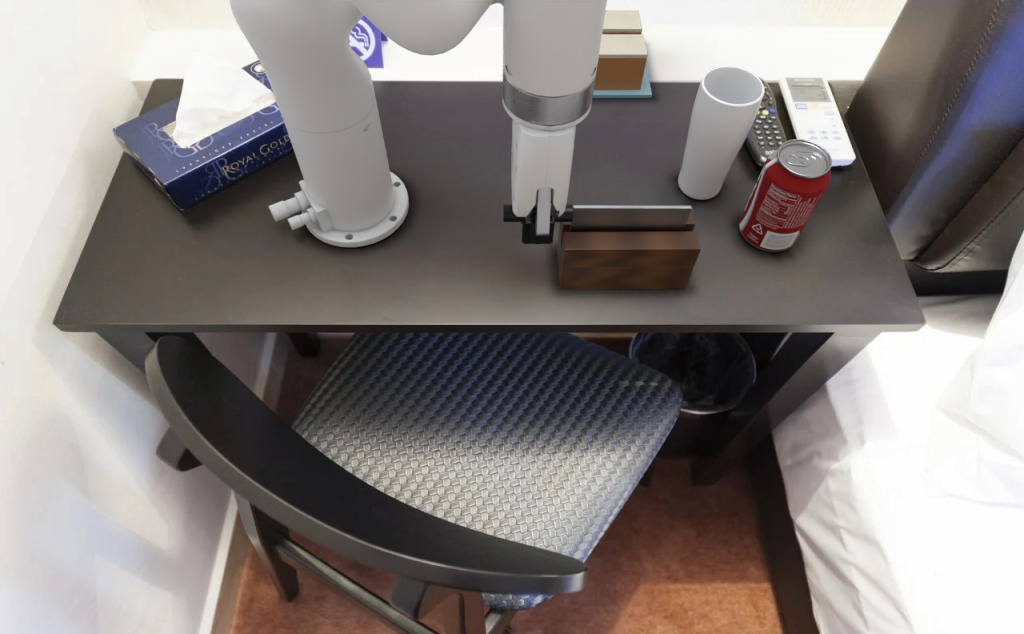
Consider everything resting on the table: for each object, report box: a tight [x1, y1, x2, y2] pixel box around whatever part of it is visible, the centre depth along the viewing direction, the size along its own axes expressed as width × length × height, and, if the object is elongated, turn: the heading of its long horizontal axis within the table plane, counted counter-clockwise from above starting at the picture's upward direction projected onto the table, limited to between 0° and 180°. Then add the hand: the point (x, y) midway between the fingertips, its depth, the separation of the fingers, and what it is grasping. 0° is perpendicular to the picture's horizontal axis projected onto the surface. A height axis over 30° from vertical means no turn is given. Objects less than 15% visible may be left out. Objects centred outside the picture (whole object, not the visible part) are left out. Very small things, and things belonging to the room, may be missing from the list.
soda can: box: [738, 138, 833, 253], centre depth 73 cm, size 7×7×12 cm
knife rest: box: [556, 208, 702, 291], centre depth 72 cm, size 14×6×7 cm, turn 91°
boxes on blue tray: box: [592, 9, 653, 99], centre depth 92 cm, size 12×12×6 cm
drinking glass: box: [677, 65, 766, 201], centre depth 76 cm, size 7×7×15 cm
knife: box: [502, 203, 693, 232], centre depth 69 cm, size 19×2×6 cm, turn 91°
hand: (536, 231), depth 70 cm, fingers closed on knife, 1 cm apart
